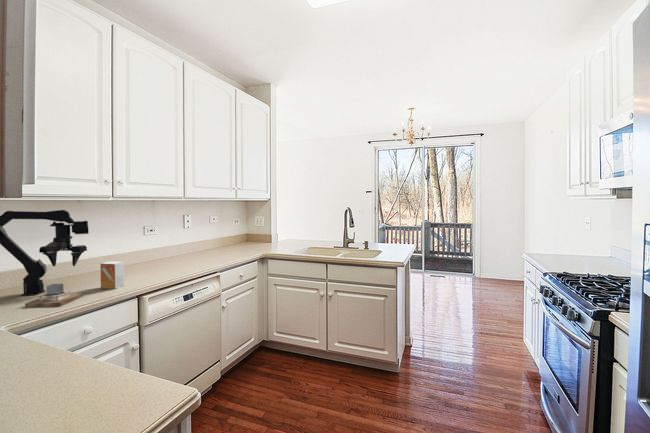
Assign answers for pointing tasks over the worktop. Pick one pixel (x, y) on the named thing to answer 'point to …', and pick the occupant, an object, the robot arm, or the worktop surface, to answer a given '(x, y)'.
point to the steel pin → (54, 289)
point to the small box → (112, 274)
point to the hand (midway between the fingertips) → (64, 266)
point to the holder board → (54, 300)
